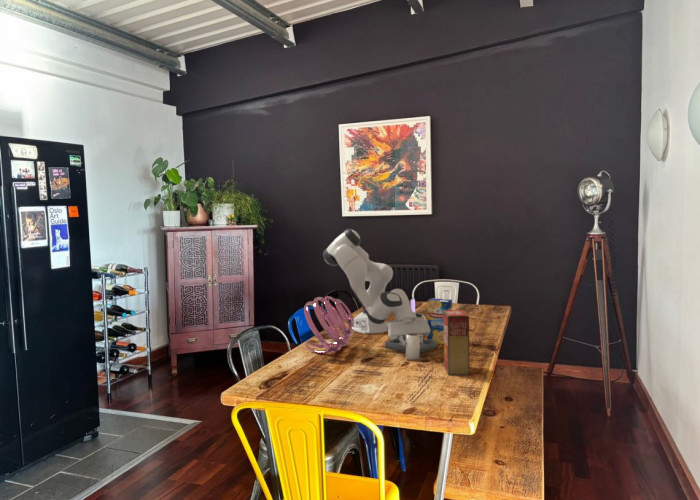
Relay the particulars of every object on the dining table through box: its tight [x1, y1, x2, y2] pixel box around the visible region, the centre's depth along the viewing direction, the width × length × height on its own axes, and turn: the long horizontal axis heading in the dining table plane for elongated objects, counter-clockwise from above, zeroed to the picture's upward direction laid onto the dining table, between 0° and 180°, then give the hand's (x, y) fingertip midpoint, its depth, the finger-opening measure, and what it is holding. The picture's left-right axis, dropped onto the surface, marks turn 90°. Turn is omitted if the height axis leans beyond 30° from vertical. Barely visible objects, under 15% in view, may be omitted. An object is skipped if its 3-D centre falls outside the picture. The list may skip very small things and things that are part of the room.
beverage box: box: [426, 297, 453, 345], centre depth 266 cm, size 7×11×22 cm, turn 62°
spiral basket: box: [303, 295, 354, 355], centre depth 253 cm, size 28×28×27 cm
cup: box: [405, 333, 421, 361], centre depth 240 cm, size 6×6×11 cm
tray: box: [384, 338, 438, 355], centre depth 257 cm, size 20×16×3 cm
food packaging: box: [443, 309, 470, 376], centre depth 219 cm, size 13×9×25 cm
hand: (413, 344), depth 239 cm, fingers closed on cup, 6 cm apart
